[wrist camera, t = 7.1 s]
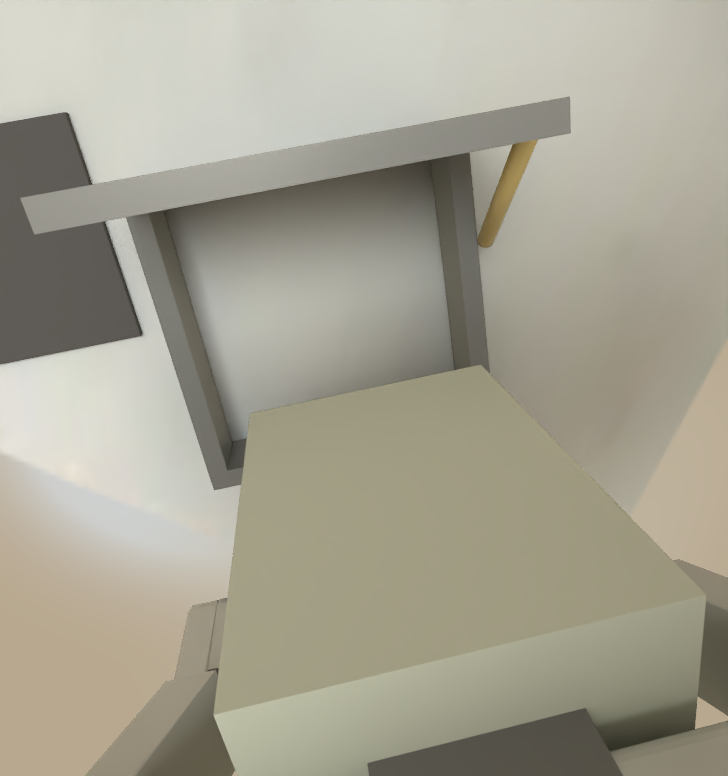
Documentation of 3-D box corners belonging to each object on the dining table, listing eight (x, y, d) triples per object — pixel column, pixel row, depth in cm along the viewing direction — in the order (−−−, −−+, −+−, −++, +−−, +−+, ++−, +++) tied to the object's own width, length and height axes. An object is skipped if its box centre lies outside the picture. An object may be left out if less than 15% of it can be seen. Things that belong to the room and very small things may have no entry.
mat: (67, 113, 27) (64, 112, 26) (142, 333, 31) (140, 335, 31) (-108, 143, 26) (-113, 143, 26) (-7, 363, 30) (-11, 366, 30)
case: (460, 122, 29) (595, 92, 17) (487, 401, 35) (600, 529, 23) (134, 183, 28) (20, 198, 16) (220, 459, 34) (186, 627, 22)
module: (480, 364, 12) (769, 659, 5) (501, 581, 14) (717, 994, 7) (250, 413, 12) (202, 802, 5) (309, 626, 14) (337, 1105, 7)
